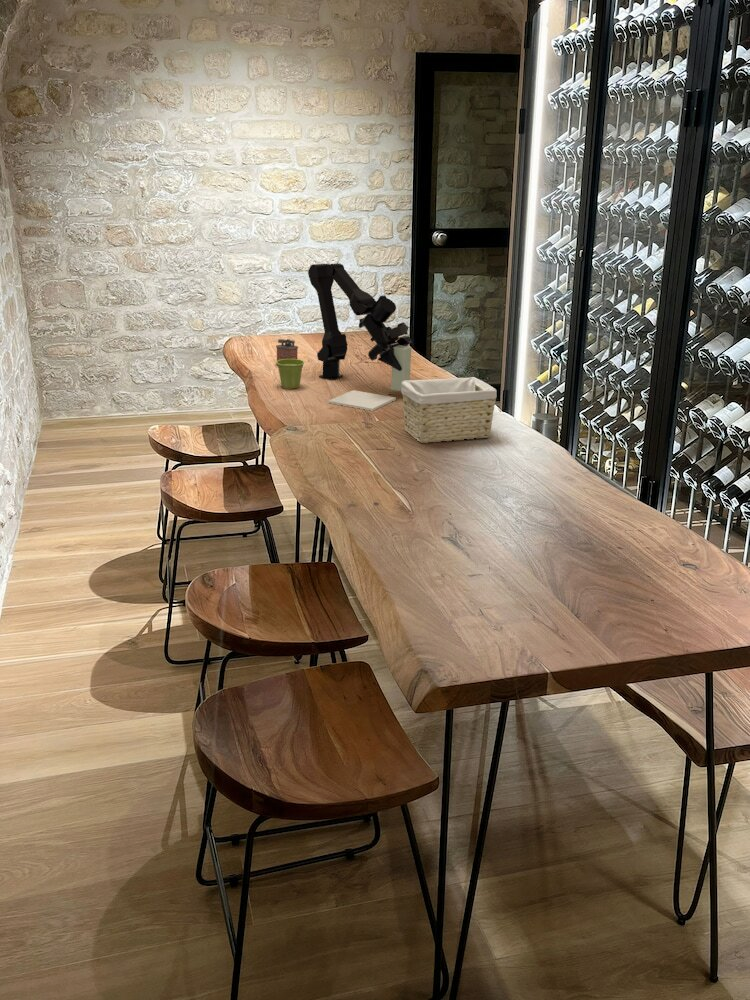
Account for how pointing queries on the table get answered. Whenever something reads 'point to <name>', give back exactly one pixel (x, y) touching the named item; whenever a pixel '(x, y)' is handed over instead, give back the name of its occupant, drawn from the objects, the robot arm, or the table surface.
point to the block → (405, 362)
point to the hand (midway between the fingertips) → (404, 368)
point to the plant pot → (290, 372)
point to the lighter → (286, 349)
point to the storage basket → (448, 409)
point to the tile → (362, 400)
